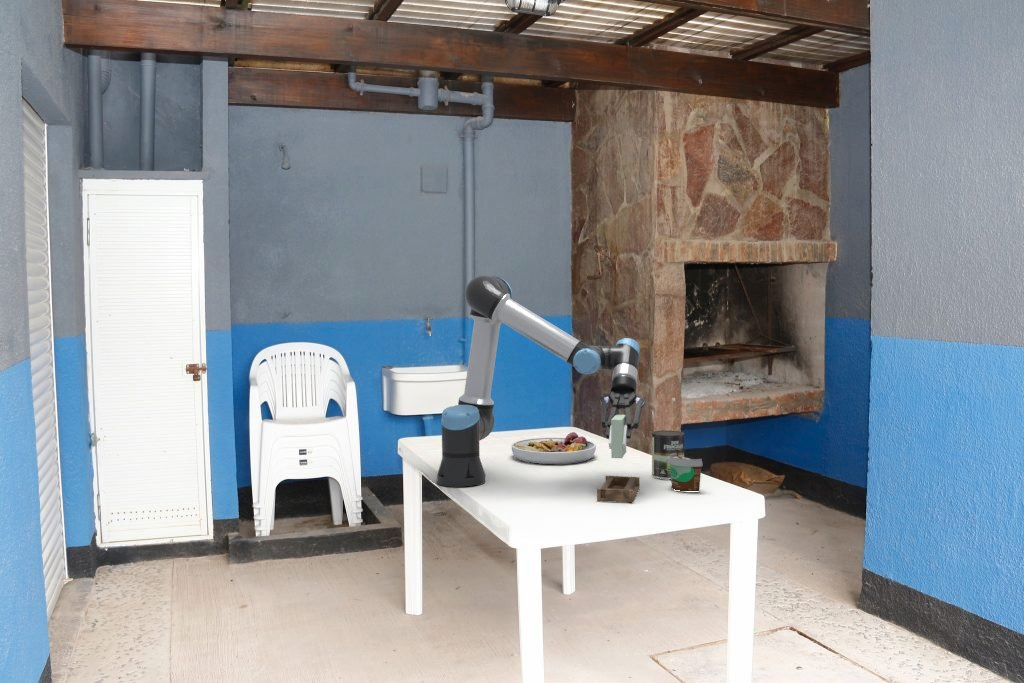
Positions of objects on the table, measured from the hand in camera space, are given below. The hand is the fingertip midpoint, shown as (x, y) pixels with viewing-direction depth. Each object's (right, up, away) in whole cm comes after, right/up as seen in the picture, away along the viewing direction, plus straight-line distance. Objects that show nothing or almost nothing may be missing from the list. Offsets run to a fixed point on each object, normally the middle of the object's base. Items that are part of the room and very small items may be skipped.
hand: (617, 446), depth 243 cm
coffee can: (+20, -13, +29) cm, 37 cm away
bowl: (-15, -12, +61) cm, 64 cm away
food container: (+20, -14, +10) cm, 27 cm away
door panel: (+1, -3, +4) cm, 5 cm away
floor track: (+1, -15, +4) cm, 15 cm away
